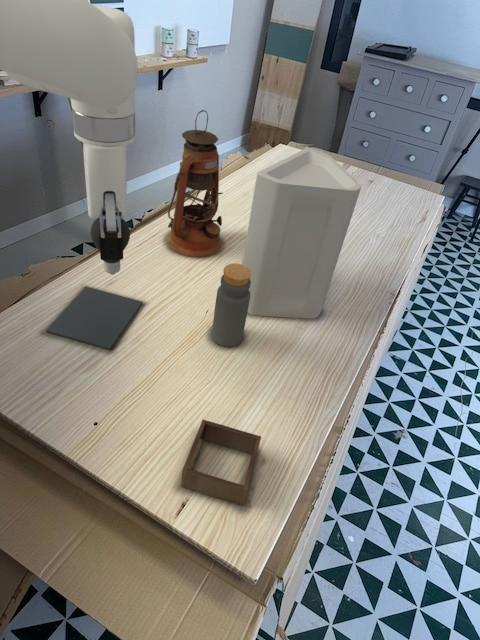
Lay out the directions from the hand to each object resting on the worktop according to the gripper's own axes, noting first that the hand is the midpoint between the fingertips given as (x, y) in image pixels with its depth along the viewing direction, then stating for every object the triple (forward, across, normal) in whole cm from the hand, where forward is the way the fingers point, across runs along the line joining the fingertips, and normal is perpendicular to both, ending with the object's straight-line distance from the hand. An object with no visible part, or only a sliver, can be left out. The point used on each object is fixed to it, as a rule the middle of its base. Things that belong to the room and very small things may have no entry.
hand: (110, 246), depth 70 cm
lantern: (+20, -32, +20) cm, 43 cm away
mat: (+20, -7, -3) cm, 21 cm away
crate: (+20, +28, +13) cm, 37 cm away
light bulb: (+5, 0, 0) cm, 5 cm away
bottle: (+20, +1, +20) cm, 28 cm away
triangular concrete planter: (+20, -8, +36) cm, 42 cm away
